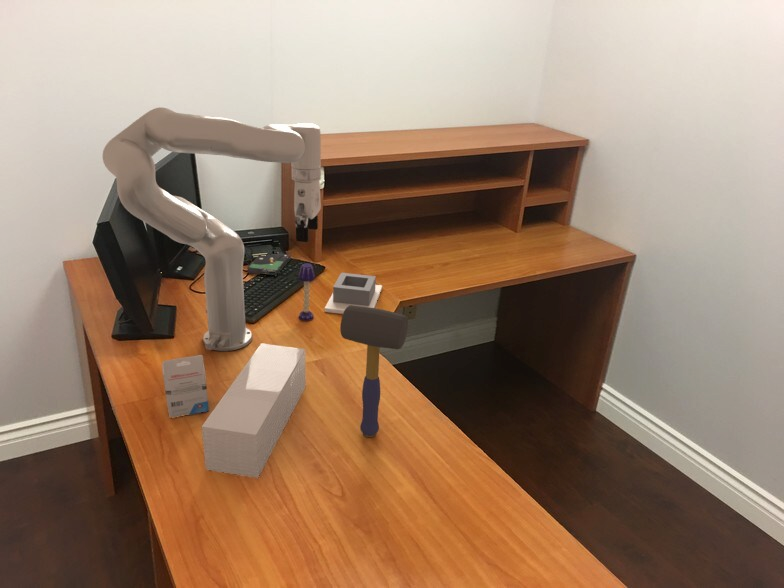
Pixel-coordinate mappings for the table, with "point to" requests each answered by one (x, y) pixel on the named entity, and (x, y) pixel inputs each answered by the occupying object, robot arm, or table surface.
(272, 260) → the disk drive
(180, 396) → the ink box
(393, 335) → the rubber mallet
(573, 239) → the table surface
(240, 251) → the robot arm
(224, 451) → the long gray block
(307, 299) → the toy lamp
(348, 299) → the dock
